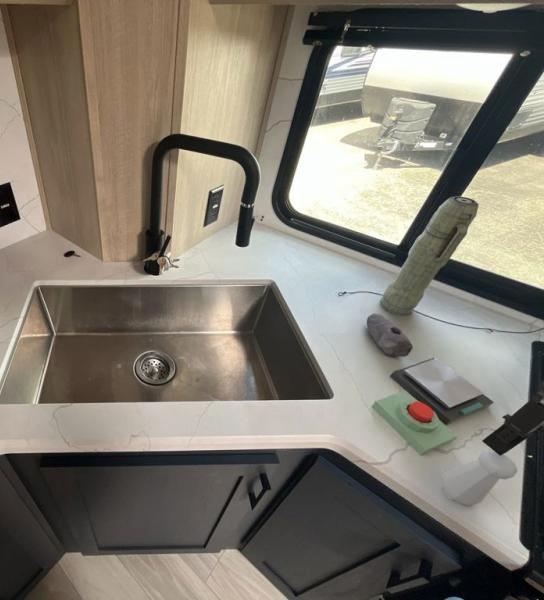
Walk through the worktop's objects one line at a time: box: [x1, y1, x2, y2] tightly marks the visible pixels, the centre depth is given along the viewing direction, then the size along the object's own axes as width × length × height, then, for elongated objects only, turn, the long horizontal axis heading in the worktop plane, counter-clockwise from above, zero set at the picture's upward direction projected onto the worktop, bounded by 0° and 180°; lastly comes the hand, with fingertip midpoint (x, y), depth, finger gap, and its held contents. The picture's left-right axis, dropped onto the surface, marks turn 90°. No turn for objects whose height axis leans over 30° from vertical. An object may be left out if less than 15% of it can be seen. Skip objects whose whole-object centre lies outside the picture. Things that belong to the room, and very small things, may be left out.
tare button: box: [408, 402, 434, 423], centre depth 69 cm, size 4×4×2 cm
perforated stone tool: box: [366, 312, 414, 358], centre depth 88 cm, size 15×5×7 cm, turn 179°
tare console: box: [371, 389, 458, 456], centre depth 70 cm, size 12×9×4 cm
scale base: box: [389, 357, 495, 426], centre depth 77 cm, size 14×14×3 cm
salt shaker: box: [441, 449, 518, 506], centre depth 57 cm, size 6×6×13 cm
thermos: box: [379, 195, 480, 316], centre depth 91 cm, size 9×12×35 cm
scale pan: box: [403, 358, 485, 409], centre depth 76 cm, size 11×11×1 cm
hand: (493, 446), depth 53 cm, fingers closed
